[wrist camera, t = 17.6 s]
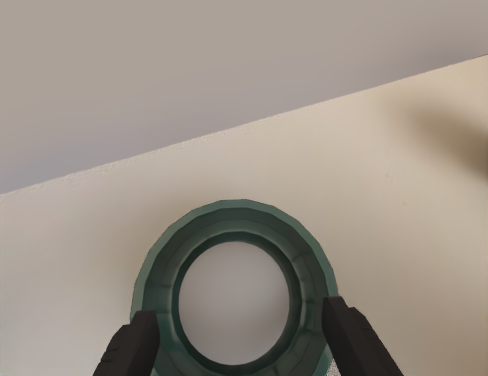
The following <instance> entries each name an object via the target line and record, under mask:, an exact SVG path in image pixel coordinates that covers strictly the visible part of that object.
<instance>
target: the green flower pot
mask: <svg viewBox="0 0 488 376" xmlns="http://www.w3.org/2000/svg"><path fill="white" fill-rule="evenodd" d="M235 241H236V242H245V243H248V244H252V245H255V246H257V247H258V248H260V249H262V250H264V251H265V252H266V253H267V254H269V255H270V256H271V257H272V258H273V259H274V261H275V262H276V263H277V264H278V265H279V267H280V269H281V271H282V273H283V274H284V277H285V280H286V283H287V286H288V292H289V313H288V318H287V322H286V325H285V327H284V330H283V332H282V334H281V336H280V337H279V339H278V340H277V342H276V343H275V345H274V346H273V347H272V348H271V349H270V350H269V351H268V352H267V353H265V354H264V355H262V356H261V357H259V358H258V359H256V360H254V361H251V362H248V363H245V364H239V365H227V364H220V363H218V362H215V361H213V360H210V359H208V358H207V357H205V356H204V355H202V354H201V353H200V352H198V350H197V349H196V348H195V347H194V346H193V345H192V344H191V343H190V341H189V339H188V337H187V336H186V334H185V332H184V330H183V327H182V324H181V321H180V314H179V294H180V289H181V284H182V282H183V279H184V277H185V274H186V272H187V271H188V269H189V268H190V266H191V265H192V263H193V262H194V261H195V260H196V259H197V258H198V257H199V256H200V255H201V254H202V253H204V252H205V251H206V250H208V249H210V248H212V247H213V246H215V245H218V244H222V243H225V242H235ZM330 296H339V294H338V289H337V285H336V280H335V275H334V272H333V269H332V267H331V265H330V263H329V261H328V259H327V257H326V256H325V254H324V252H323V250H322V248H321V246H320V244H319V243H318V241H317V240H316V239H315V238H314V237H313V236H312V235H311V234H310V233H309V232H308V231H307V230H306V229H305V228H304V226H303V225H302V224H301V223H300V222H299V221H297V220H296V219H295V218H293V217H291V216H289V215H288V214H286V213H284V212H283V211H281V210H279V209H278V208H276V207H274V206H271V205H267V204H263V203H259V202H255V201H252V200H247V199H241V200H220V201H217V202H214V203H211V204H208V205H205V206H202V207H199V208H196V209H194V210H192V211H191V212H189V213H188V214H186V215H185V216H183V217H182V218H181V219H179V220H178V221H176V222H175V223H173V224H172V225H171V226H170V227H168V228H167V230H166V231H165V232H164V233H163V234H162V236H161V237H160V238H159V239H158V240H157V242H156V243H155V244H154V245H153V247H152V248H151V249H150V250H149V252H148V254H147V257H146V259H145V261H144V263H143V266H142V268H141V270H140V272H139V275H138V277H137V279H136V283H135V286H134V293H133V299H132V306H131V313H130V323H131V321H132V318H133V316H134V314H135V313H136V311H141V310H155V312H156V317H157V321H158V326H159V331H160V345H159V349H158V353H157V356H156V359H155V363H154V366H153V370H152V373H151V376H327V373H328V371H329V368H330V365H331V363H332V360H333V355H332V353H331V351H330V348H329V346H328V343H327V341H326V339H325V336H324V334H323V330H322V325H321V318H322V307H323V299H324V297H330Z"/></svg>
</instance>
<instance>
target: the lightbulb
mask: <svg viewBox="0 0 488 376" xmlns="http://www.w3.org/2000/svg"><path fill="white" fill-rule="evenodd" d="M288 313H289V292H288V286H287V283H286V280H285V277H284V274H283V273H282V271H281V269H280V267H279V265H278V264H277V263H276V262H275V261H274V259H273V258H272V257H271V256H270V255H269V254H267V253H266V252H265V251H264V250H262V249H260V248H258V247H257V246H255V245H252V244H248V243H245V242H236V241H235V242H225V243H222V244H218V245H215V246H213V247H212V248H210V249H208V250H206V251H205V252H204V253H202V254H201V255H200V256H199V257H198V258H197V259H196V260H195V261H194V262H193V263H192V265H191V266H190V268H189V269H188V271H187V272H186V274H185V277H184V279H183V282H182V284H181V289H180V294H179V314H180V321H181V324H182V327H183V330H184V332H185V334H186V336H187V337H188V339H189V341H190V343H191V344H192V345H193V346H194V347H195V348H196V349H197V350H198V352H200V353H201V354H202V355H204V356H205V357H207V358H208V359H210V360H213V361H215V362H218V363H220V364H227V365H239V364H245V363H248V362H251V361H254V360H256V359H258V358H259V357H261V356H262V355H264V354H265V353H267V352H268V351H269V350H270V349H271V348H272V347H273V346H274V345H275V343H276V342H277V340H278V339H279V337H280V336H281V334H282V332H283V330H284V327H285V325H286V322H287V318H288Z"/></svg>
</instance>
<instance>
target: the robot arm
mask: <svg viewBox="0 0 488 376" xmlns="http://www.w3.org/2000/svg"><path fill="white" fill-rule="evenodd" d="M321 325H322V330H323V334H324V336H325V339H326V341H327V343H328V346H329V348H330V351H331V353H332V355H333V358H334V360H335V363H336V365H337V367H338V370H339V372H340V374H341V376H404V375H403V374H402V372H401V371H400V369H399V368H398V366H397V365H396V363H395V362H394V360H393V359H392V357H391V355H390V354H389V352H388V351H387V349H386V348H385V346H384V345H383V343H382V342H381V340H380V339H379V338H378V336H377V334H376V333H375V331H374V330H373V329H372V326H371V325H370V323H369V322H368V320H367V319H366V317H365V316H364V315H363V314H362V313H360V312H359V311H358V310H357V309H356V308H355V307H350V308H348V306H347V305H346V303H345V301H344V300H343V298H342V297H341V296H330V297H324V299H323V307H322V318H321ZM159 345H160V331H159V326H158V321H157V317H156V312H155V310H141V311H136V313H135V314H134V316H133V318H132V321H131V323H130V324H128V325H123V326H122V327H121V328H120V329H119V330H118V331H117V332H116V333H115V334H114V336H113V337H112V339H111V341H110V343H109V345H108V347H107V349H106V352H104V354H103V356H102V358H101V362H100V363H99V364H98V366H97V368H96V370H95V372H94V374H93V376H151V373H152V370H153V366H154V363H155V359H156V356H157V353H158V349H159Z"/></svg>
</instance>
